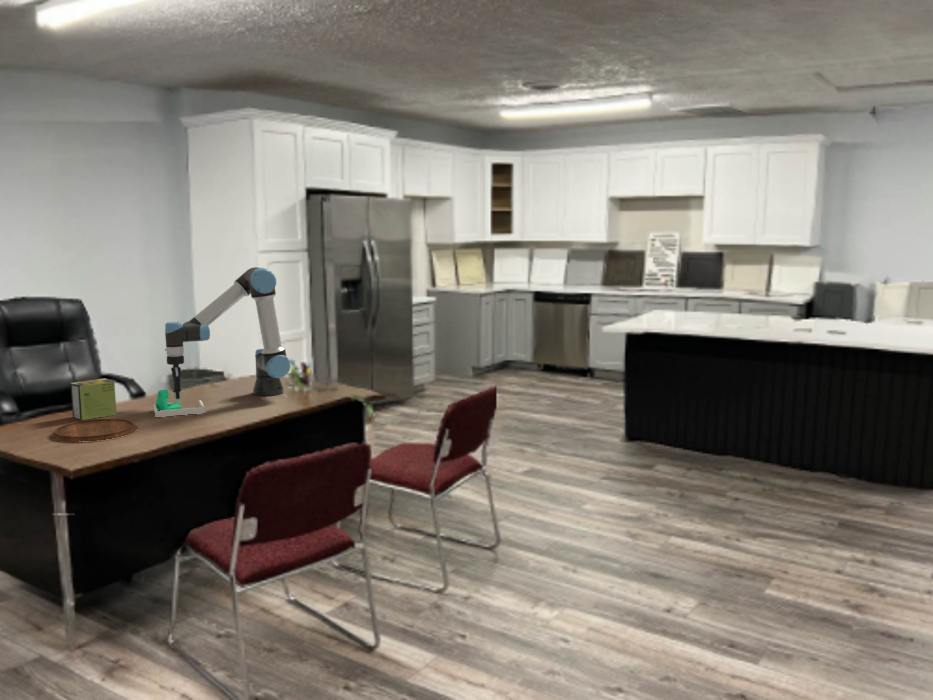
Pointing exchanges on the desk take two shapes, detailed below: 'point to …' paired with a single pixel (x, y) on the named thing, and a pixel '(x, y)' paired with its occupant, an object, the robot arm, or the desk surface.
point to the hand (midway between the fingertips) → (177, 405)
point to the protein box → (93, 399)
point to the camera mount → (165, 401)
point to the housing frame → (180, 411)
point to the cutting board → (94, 430)
